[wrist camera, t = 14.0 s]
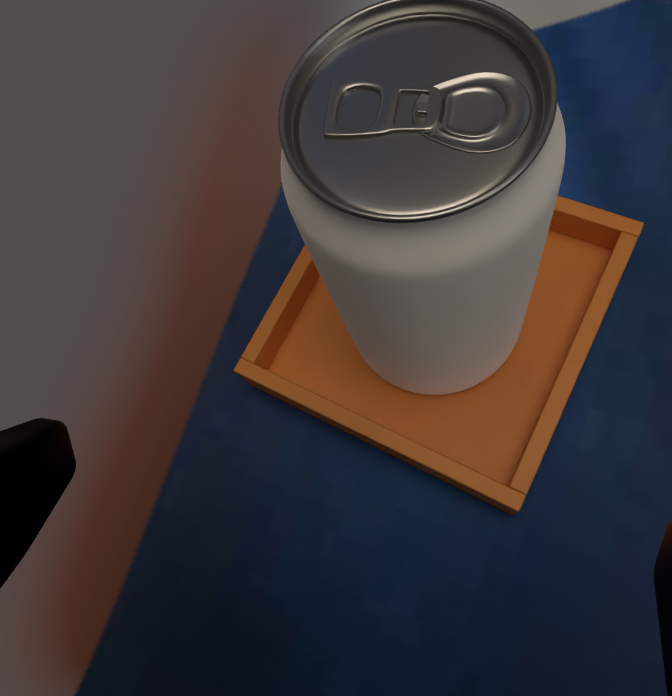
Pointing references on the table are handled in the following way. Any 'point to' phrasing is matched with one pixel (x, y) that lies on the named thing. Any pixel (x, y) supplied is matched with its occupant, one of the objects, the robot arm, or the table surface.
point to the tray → (468, 405)
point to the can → (425, 181)
